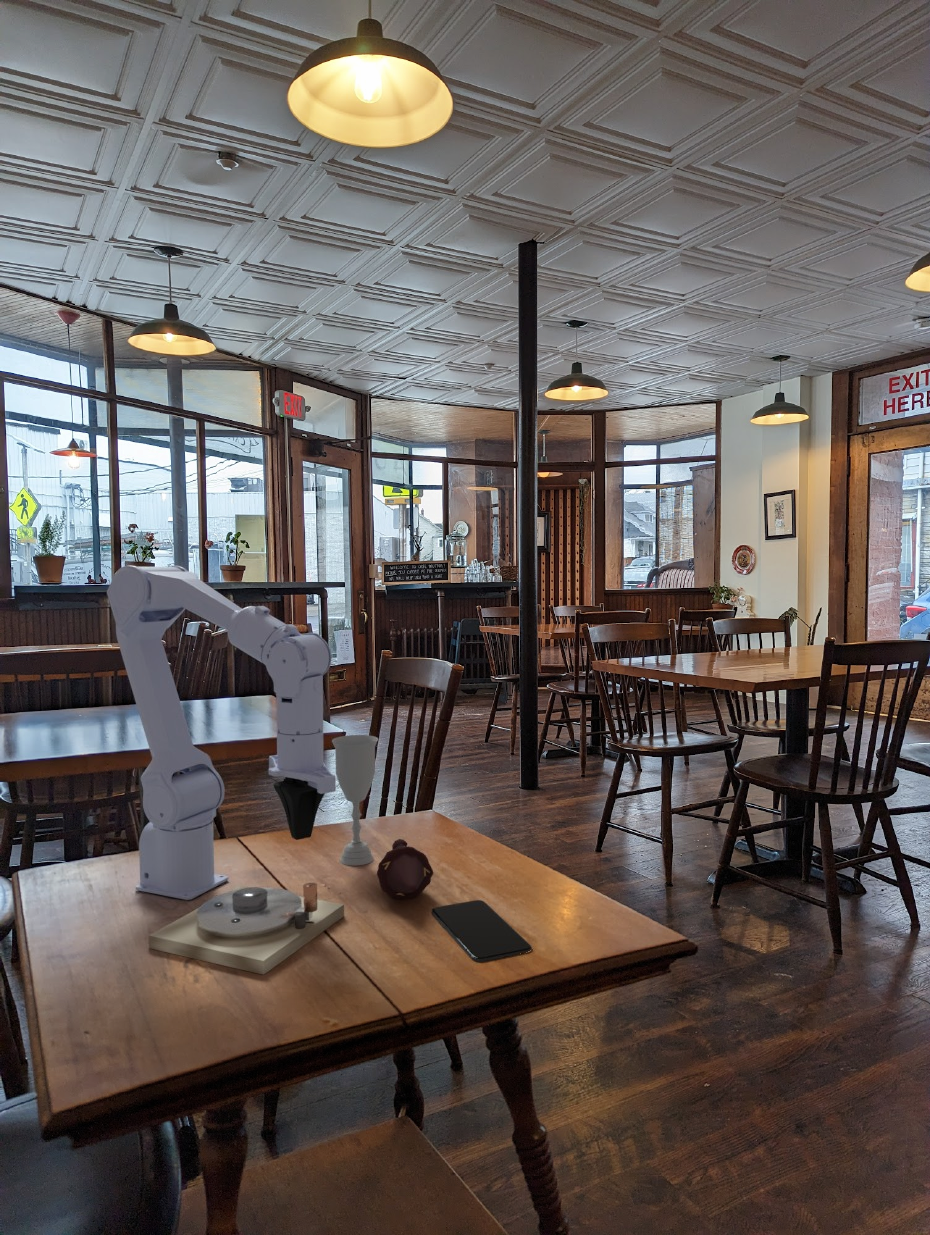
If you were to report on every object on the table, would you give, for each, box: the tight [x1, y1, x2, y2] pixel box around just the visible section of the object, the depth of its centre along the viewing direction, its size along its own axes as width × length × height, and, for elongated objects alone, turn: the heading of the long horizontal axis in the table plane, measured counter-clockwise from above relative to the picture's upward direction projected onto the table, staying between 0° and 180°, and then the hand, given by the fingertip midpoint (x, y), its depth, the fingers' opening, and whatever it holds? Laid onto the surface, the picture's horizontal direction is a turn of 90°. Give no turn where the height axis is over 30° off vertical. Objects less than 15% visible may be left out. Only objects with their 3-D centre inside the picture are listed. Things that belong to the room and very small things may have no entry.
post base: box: [148, 885, 345, 976], centre depth 97 cm, size 16×16×3 cm
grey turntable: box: [197, 882, 318, 938], centre depth 96 cm, size 14×12×4 cm
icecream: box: [376, 838, 434, 901], centre depth 107 cm, size 7×7×15 cm
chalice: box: [331, 734, 379, 867], centre depth 121 cm, size 7×7×18 cm
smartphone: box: [430, 899, 533, 963], centre depth 97 cm, size 7×1×15 cm
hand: (301, 837), depth 103 cm, fingers closed
